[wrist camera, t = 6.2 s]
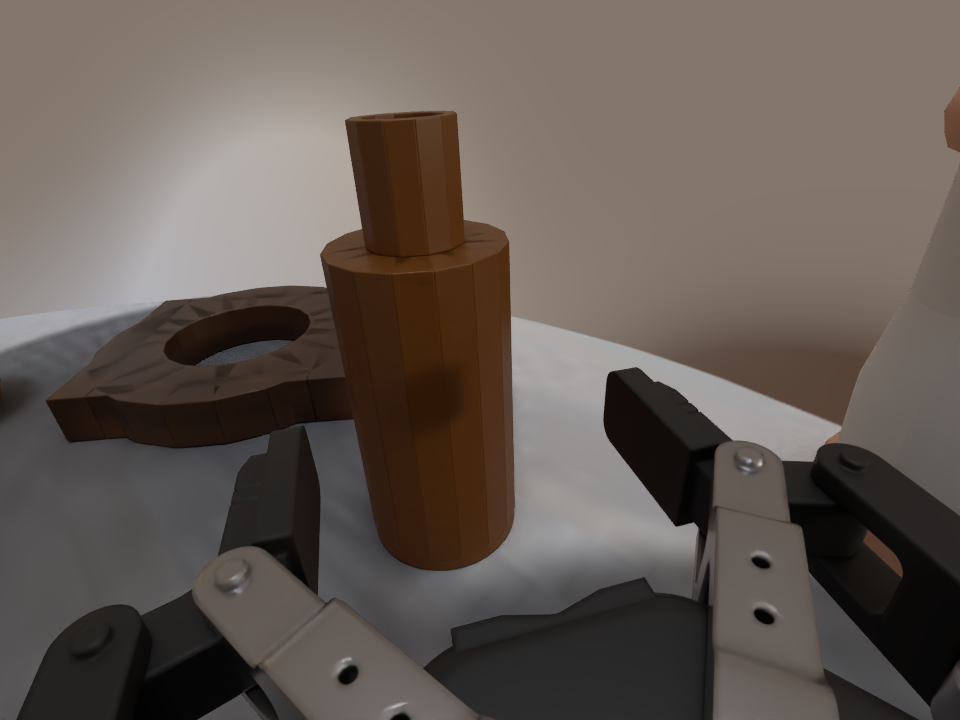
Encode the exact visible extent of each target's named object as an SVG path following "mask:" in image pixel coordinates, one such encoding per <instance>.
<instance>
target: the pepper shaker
mask: <svg viewBox="0 0 960 720" xmlns="http://www.w3.org/2000/svg"><path fill="white" fill-rule="evenodd" d="M944 113H945V116H944V117H945V137H946V141H947V145H948V147H949V148H951V149H954V150H956V151H958V152H960V87H959V89H958V90H957V92H956V94H955V95H954V97H953V98H952V100H951V101H950V103H949V104H948V106H947V108H946V109H945V111H944ZM830 443H844V444H850V445H854V446H858V447H861V448H864V449H866V450H868V451H871V452H873V453H874V454H876V455H878V456H879V457H881V458H882V459H884V460H885V461H886V462H888V463H889V464H890V465H892V466H893V467H894V468H896V469H897V470H898V471H900V472H901V473H903V474H904V475H905V476H907V477H908V478H909V479H911V480H912V481H913V482H915V483H916V484H917V485H919V486H920V487H922V488H923V489H924V490H926V491H927V492H928V493H930V494H931V495H932V496H934V497H935V498H936V499H938V500H939V501H941V502H942V503H943V504H945V505H946V506H947V507H949V508H950V509H951V510H953V511H954V512H955V513H957V514H958V515H959V516H960V165H959V167H958V170H957V173H956V175H955V177H954V180H953V183H952V185H951V188H950V190H949V193H948V196H947V198H946V200H945V203H944V206H943V208H942V211H941V213H940V216H939V218H938V221H937V223H936V226H935V229H934V231H933V234H932V236H931V239H930V242H929V244H928V246H927V249H926V251H925V254H924V256H923V259H922V262H921V264H920V267H919V269H918V272H917V274H916V277H915V280H914V282H913V285H912V286H911V288H910V289H909V291H908V293H907V295H906V296H905V298H904V299H903V301H902V303H901V304H900V306H899V308H898V309H897V311H896V313H895V314H894V316H893V318H892V319H891V321H890V323H889V324H888V326H887V328H886V329H885V331H884V333H883V334H882V336H881V338H880V339H879V341H878V342H877V344H876V346H875V348H874V349H873V351H872V352H871V354H870V356H869V357H868V359H867V361H866V362H865V364H864V366H863V367H862V369H861V371H860V373H859V377H858V379H857V381H856V384H855V388H854V391H853V394H852V398H851V401H850V403H849V407H848V410H847V413H846V416H845V419H844V423H843V425H842V429H841V431H840V432H838V433H837V434H835V435H834V436H833V437H831V438H830V439H828V440H827V441H826V442H825V445H826V444H830ZM863 542H864V543H865V544H866V545H867V546H868V547H869V548H870V549H871V550H872V551H873V552H875V553H876V554H877V555H878V556H879V557H880V558H881V559H882V560H883V561H884V562H885V563H886V564H887V565H888V566H890V567H891V568H892V569H893V570H894V571H895V572H896V573H897V574H898V575H899V576H900V577H901V578H902V576H903V570H902V566H901V563H900V561H899V560H898V558H897V556H896V555H895V554H894V553H893V552H892V551H891V550H890V549H889V548H888V547H887V546H886V545H885V544H883V543H882V542H881V541H880V540H879V539H878V538H877V537H876V536H875V535H873V534H872V533H871V532H870V531H869V530H868V532H867V534H866V536H865V539H864V541H863Z"/></svg>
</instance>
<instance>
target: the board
mask: <svg viewBox="0 0 960 720" xmlns="http://www.w3.org/2000/svg"><path fill="white" fill-rule="evenodd" d="M270 339H288V340H296V341H294V342H293V343H291V344H289V345H287V346H285V347H283V348H281V349H279V350H277V351H275V352H272V353H269V354H266V355H263V356H260V357H258V358H255V359H251V360H246V361H241V362H236V363H232V364H227V365H216V366H194V365H195V364H197V363H198V362H199V361H201V360H202V359H204V358H206V357H208V356H211V355H213V354H215V353H217V352H219V351H221V350H224V349H227V348H230V347H233V346H236V345H239V344H244V343H249V342H254V341H259V340H270ZM46 402H47V404H48V406H49V408H50V410H51V412H52V413H53V415H54V417H55V419H56V421H57V423H58V424H59V426H60V428H61V430H62V432H63V434H64V435H65V437H66V439H67V441H69V442H70V441H82V440H94V439H104V438H118V437H128V438H130V439H132V440H134V441H135V442H139V443H146V444H154V445H161V446H168V447H190V446H202V445H214V444H226V443H231V442H235V441H239V440H243V439H247V438H251V437H255V436H259V435H263V434H267V433H271V432H272V431H276V430H281V429H283V428H285V427H288V426H290V425H292V424H295V423H299V422H312V421H326V420H338V419H350V418H353V413H352V408H351V403H350V398H349V393H348V388H347V383H346V379H345V374H344V369H343V364H342V359H341V354H340V349H339V344H338V339H337V335H336V330H335V325H334V320H333V315H332V310H331V305H330V300H329V295H328V291H327V288H324V287H310V286H279V287H266V288H256V289H250V290H244V291H238V292H232V293H227V294H223V295H222V294H221V295H217V296H213V297H210V298H198V299H185V300H171V301H165V302H164V303H163V304H162V305H160V306H159V307H158V308H157V309H155V310H154V311H153V312H152V313H151V314H149V315H148V316H147V317H146V318H145V319H143V320H142V321H141V322H140V323H138V324H136V325H134V326H132V327H131V328H129V329H127V330H125V331H123V332H121V333H120V334H118V335H117V336H116V337H115V338H113V339H112V340H111V341H110V342H108V343H107V344H106V345H105V346H103V347H102V348H101V349H100V350H99V351H98V352H96V354H95V356H94V358H93V360H92V361H91V363H90V364H89V365H88V366H87V367H85V368H84V369H83V370H82V371H80V372H79V373H78V374H77V375H76V376H74V377H73V378H72V379H71V380H70V381H68V382H67V383H66V384H65V385H64V386H62V387H61V388H60V389H59V390H57V391H56V392H55V393H54V394H53V395H51V396H50V397H49V398H48V399H47V400H46Z"/></svg>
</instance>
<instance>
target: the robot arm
mask: <svg viewBox="0 0 960 720" xmlns="http://www.w3.org/2000/svg"><path fill="white" fill-rule="evenodd" d="M603 421H604V428H605V432H606V435H607V437H608V439H609V441H610V442H611V443H612V445H613V446H614V447H615V449H616V450H617V451H618V452H619V454H620V455H621V456H622V458H623V459H624V460H625V461H626V463H627V464H628V465H629V467H630V468H631V469H632V471H633V472H634V473H635V474H636V476H637V477H638V478H639V480H640V481H641V482H642V483H643V485H644V486H645V487H646V489H647V490H648V491H649V492H650V494H651V495H652V496H653V498H654V499H655V500H656V502H657V503H658V504H659V505H660V507H661V508H662V509H663V511H664V512H665V513H666V514H667V516H668V517H669V518H670V520H671V521H672V522H673V524H674V525H675V526H676V527H677V526H681V525H685V524H689V523H693V522H694V523H695V524H696V525H697V526H698V533H697V537H696V548H695V562H694V575H693V588H692V599H689V598H686V597H683V596H678V595H673V594H666V593H654V592H653V590H652V588H651V587H650V585H649V584H648V582H647V580H646V579H645V577H644V578H640V579H636V580H633V581H629V582H625V583H621V584H618V585H614V586H610V587H606V588H602V589H599V590H597V591H596V592H594V593H592V594H591V595H589V596H587V597H586V598H584V599H582V600H580V601H579V602H577V603H575V604H574V605H572V606H570V607H568V608H567V609H565V610H563V611H562V612H560V613H557V614H551V615H501V616H497V617H493V618H489V619H486V620H482V621H478V622H474V623H471V624H467V625H463V626H459V627H456V628H452V629H451V635H452V644H453V646H452V647H450V648H449V649H447V650H445V651H444V652H442V653H441V654H440V655H438V656H437V657H436V658H434V659H433V660H432V661H431V662H429V663H428V664H427V665H426V666H425V667H424V668H422V667H420V666H419V665H418V664H417V663H416V662H414V661H413V660H412V659H411V658H410V657H409V656H407V655H406V654H405V653H404V652H403V651H401V650H400V649H399V648H398V647H397V646H396V645H394V644H393V643H392V642H391V641H390V640H388V639H387V638H386V637H385V636H384V635H383V634H381V633H380V632H379V631H378V630H377V629H375V628H374V627H373V626H372V625H371V624H370V623H368V622H367V621H366V620H365V619H364V618H362V617H361V616H360V615H359V614H358V613H357V612H355V611H354V610H353V609H352V608H351V607H349V606H348V605H347V604H346V603H345V602H343V601H342V600H340V599H338V598H332V599H331V600H330V601H329V602H328V603H326V602H324V601H323V600H322V599H321V598H319V597H318V568H319V533H320V487H319V480H318V475H317V471H316V467H315V463H314V460H313V456H312V452H311V448H310V444H309V441H308V437H307V433H306V430H305V428H304V426H299V427H293V428H287V429H282V430H276V431H272V432H271V434H270V440H269V445H268V451H267V453H265V454H260V455H255V456H251V457H250V458H249V459H248V461H247V462H246V463H245V464H244V466H243V467H242V468H241V469H240V471H239V472H238V475H237V479H236V483H235V488H234V490H235V492H233V496H232V500H231V506H230V508H229V512H228V517H227V521H226V525H225V529H224V533H223V537H222V541H221V546H220V550H219V554H218V557H216V558H215V559H213V560H212V561H211V562H209V563H208V564H207V565H206V566H205V567H204V568H203V569H202V571H201V572H200V573H199V575H198V576H197V578H196V580H195V582H194V584H193V589H192V590H190V591H189V592H187V593H186V594H184V595H183V596H181V597H179V598H177V599H175V600H173V601H171V602H169V603H167V604H165V605H163V606H160V607H158V608H156V609H154V610H152V611H150V612H148V613H146V614H144V615H142V616H140V614H139V613H138V611H137V610H136V609H135V608H133V607H131V606H128V605H121V604H120V605H111V606H106V607H103V608H100V609H97V610H95V611H93V612H90V613H88V614H87V615H85V616H83V617H81V618H80V619H78V620H77V621H75V622H74V623H72V624H71V625H70V626H69V627H67V628H66V629H65V630H64V631H63V632H62V633H61V634H60V635H59V636H58V637H57V638H56V639H55V640H54V641H53V643H52V644H51V645H50V647H49V648H48V650H47V652H46V654H45V656H44V658H43V660H42V662H41V665H40V667H39V669H38V671H37V674H36V676H35V678H34V681H33V683H32V685H31V687H30V690H29V692H28V694H27V697H26V699H25V701H24V703H23V706H22V708H21V710H20V713H19V715H18V717H17V719H16V720H197V719H199V718H201V717H202V716H204V715H206V714H208V713H209V712H211V711H213V710H214V709H216V708H218V707H220V706H221V705H223V704H225V703H226V702H228V701H230V700H231V699H233V698H235V697H237V696H238V695H240V694H241V695H242V696H243V697H244V698H245V700H246V701H247V702H248V703H249V705H250V706H251V707H252V708H253V709H254V711H255V712H256V713H257V714H258V716H259V717H260V718H261V719H262V720H918V719H916V718H915V717H913V716H911V715H909V714H907V713H905V712H903V711H902V710H900V709H898V708H896V707H894V706H892V705H891V704H889V703H887V702H885V701H883V700H881V699H880V698H878V697H876V696H874V695H872V694H870V693H868V692H867V691H865V690H863V689H861V688H859V687H857V686H856V685H854V684H852V683H850V682H848V681H846V680H844V679H843V678H841V677H839V676H837V675H835V674H833V673H832V672H830V671H828V670H826V669H824V668H823V664H822V657H821V651H820V644H819V637H818V630H817V624H816V617H815V610H814V604H813V597H812V590H811V584H810V577H809V572H810V574H811V575H812V576H813V577H814V578H815V579H816V580H817V581H818V582H819V584H820V585H821V586H822V587H823V588H824V589H825V590H826V591H827V593H828V594H829V595H830V596H831V597H832V598H833V599H834V600H835V601H836V603H837V604H838V605H839V606H840V607H841V608H842V609H843V610H844V612H845V613H846V614H847V615H848V616H849V617H850V618H851V619H852V620H853V622H854V623H855V624H856V625H857V626H858V627H859V628H860V629H861V631H862V632H863V633H864V634H865V635H866V636H867V637H868V638H869V639H870V641H871V642H872V643H873V644H874V645H875V646H876V647H877V648H878V650H879V651H880V652H881V653H882V654H883V655H884V656H885V657H886V658H887V660H888V661H889V662H890V663H891V664H892V665H893V666H894V667H895V669H896V670H897V671H898V672H899V673H900V674H901V675H902V676H903V677H904V679H905V680H906V681H907V682H908V683H909V684H910V685H911V686H912V688H913V689H914V690H915V691H916V692H917V693H918V694H919V695H920V696H921V698H922V699H923V700H924V701H925V702H926V703H927V704H928V705H929V707H930V708H931V714H932V718H933V720H960V516H959V515H958V514H957V513H955V512H954V511H953V510H951V509H950V508H949V507H947V506H946V505H945V504H943V503H942V502H941V501H939V500H938V499H936V498H935V497H934V496H932V495H931V494H930V493H928V492H927V491H926V490H924V489H923V488H922V487H920V486H919V485H917V484H916V483H915V482H913V481H912V480H911V479H909V478H908V477H907V476H905V475H904V474H903V473H901V472H900V471H898V470H897V469H896V468H894V467H893V466H892V465H890V464H889V463H888V462H886V461H885V460H884V459H882V458H881V457H879V456H878V455H876V454H874V453H873V452H871V451H868V450H866V449H864V448H861V447H858V446H854V445H850V444H844V443H830V444H826V445H823V446H821V447H820V448H819V449H818V451H817V454H816V457H815V460H814V462H800V461H781V460H780V458H779V457H778V456H777V455H776V454H775V453H773V452H772V451H770V450H769V449H767V448H765V447H763V446H761V445H758V444H755V443H751V442H747V441H733V440H732V439H730V438H729V437H728V436H727V435H726V434H725V433H724V432H723V431H721V430H720V429H719V428H718V427H717V426H716V425H715V424H714V423H713V422H711V421H710V420H709V419H708V418H707V417H706V416H705V415H704V414H702V413H701V412H698V409H697V408H696V407H695V406H694V405H692V404H691V403H688V400H687V399H686V398H685V397H683V396H682V395H681V394H680V393H679V392H678V391H677V390H675V389H673V388H671V387H669V386H667V385H665V384H663V383H661V382H654V381H653V380H651V379H650V378H649V377H648V376H647V375H646V374H645V373H644V372H643V371H642V370H641V369H639V368H637V367H635V368H629V369H624V370H618V371H612V372H610V373H609V374H608V376H607V382H606V394H605V406H604V419H603ZM868 530H869V531H870V532H871V533H872V534H873V535H875V536H876V537H877V538H878V539H879V540H880V541H881V542H882V543H883V544H885V545H886V546H887V547H888V548H889V549H890V550H891V551H892V552H893V553H894V554H895V555H896V556H897V558H898V560H899V561H900V563H901V566H902V570H903V576H902V578H901V577H900V576H899V575H898V574H897V573H896V572H895V571H894V570H893V569H892V568H891V567H890V566H888V565H887V564H886V563H885V562H884V561H883V560H882V559H881V558H880V557H879V556H878V555H877V554H876V553H875V552H873V551H872V550H871V549H870V548H869V547H868V546H867V545H866V544H865V543H864V542H863V541H864V539H865V536H866V534H867V532H868Z"/></svg>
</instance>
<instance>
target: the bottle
mask: <svg viewBox="0 0 960 720" xmlns="http://www.w3.org/2000/svg"><path fill="white" fill-rule="evenodd" d="M345 123H346V130H347V136H348V142H349V148H350V155H351V161H352V167H353V173H354V180H355V186H356V192H357V198H358V205H359V211H360V217H361V223H362V229H361V230H357V231H354V232H350V233H347V234H345V235H343V236H341V237H339V238H337V239H335V240H333V241H331V242H329V243H328V244H327V245H326V246H325V248H324V249H323V251H322V252H321V254H320V256H321V261H322V266H323V271H324V276H325V281H326V286H327V291H328V295H329V300H330V305H331V310H332V315H333V320H334V325H335V330H336V335H337V339H338V344H339V349H340V354H341V359H342V364H343V369H344V374H345V379H346V383H347V388H348V393H349V398H350V403H351V408H352V413H353V418H354V423H355V427H356V432H357V437H358V442H359V447H360V452H361V457H362V462H363V467H364V471H365V476H366V481H367V486H368V491H369V496H370V501H371V506H372V511H373V515H374V520H375V523H376V525H377V529H378V533H379V536H380V539H381V541H382V543H383V545H384V546H385V547H386V549H387V550H388V551H389V552H390V553H391V554H392V555H393V556H395V557H396V558H398V559H399V560H401V561H402V562H405V563H407V564H409V565H412V566H415V567H418V568H423V569H430V570H448V569H455V568H459V567H463V566H467V565H470V564H472V563H475V562H477V561H479V560H481V559H483V558H485V557H486V556H487V555H489V554H490V553H492V552H493V551H494V550H495V549H496V548H498V547H499V545H500V544H501V543H502V542H503V541H504V539H505V538H506V536H507V535H508V533H509V531H510V529H511V526H512V523H513V517H514V508H515V496H514V449H513V402H512V355H511V310H510V266H509V265H510V262H509V240H508V238H507V236H506V234H505V232H504V231H502V230H500V229H498V228H496V227H493V226H491V225H489V224H484V223H478V222H472V221H466V220H464V219H463V203H462V187H461V172H460V156H459V139H458V124H457V114H456V112H453V111H421V112H402V113H387V114H376V115H366V116H358V117H351V118H349V119H347V120H345Z"/></svg>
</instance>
